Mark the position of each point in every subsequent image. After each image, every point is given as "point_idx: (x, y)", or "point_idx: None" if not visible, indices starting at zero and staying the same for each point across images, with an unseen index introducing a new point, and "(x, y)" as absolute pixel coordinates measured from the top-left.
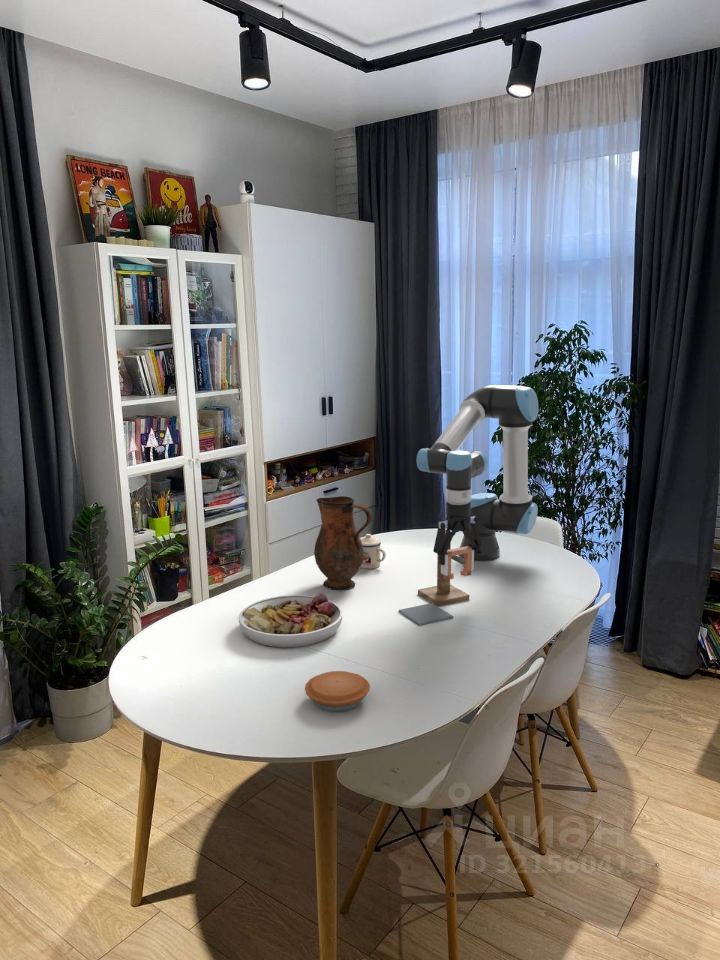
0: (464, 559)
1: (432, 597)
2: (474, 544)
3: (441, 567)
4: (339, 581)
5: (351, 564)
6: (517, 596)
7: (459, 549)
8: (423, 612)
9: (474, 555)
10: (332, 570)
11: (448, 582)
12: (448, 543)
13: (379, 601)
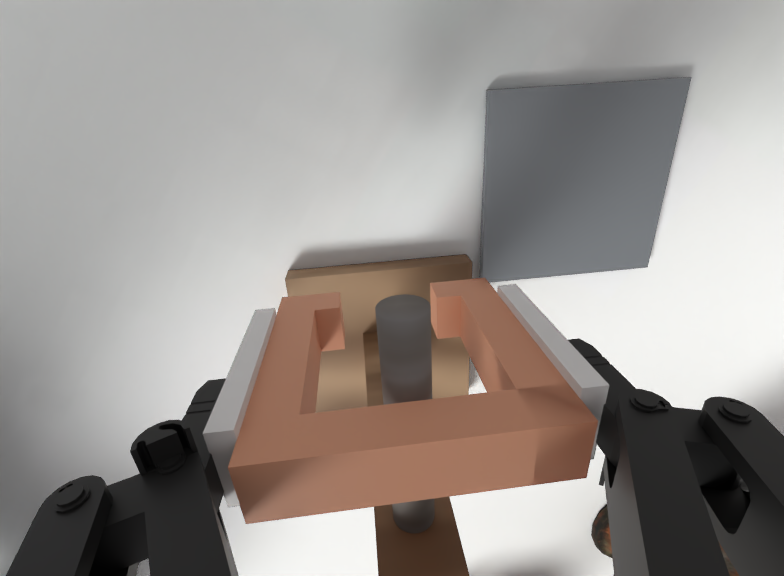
0: (314, 396)
1: None
2: (165, 506)
3: None
4: None
5: (735, 574)
6: (11, 210)
7: (407, 459)
8: (582, 198)
9: (205, 404)
10: None
11: (374, 364)
12: (673, 527)
13: (628, 377)
